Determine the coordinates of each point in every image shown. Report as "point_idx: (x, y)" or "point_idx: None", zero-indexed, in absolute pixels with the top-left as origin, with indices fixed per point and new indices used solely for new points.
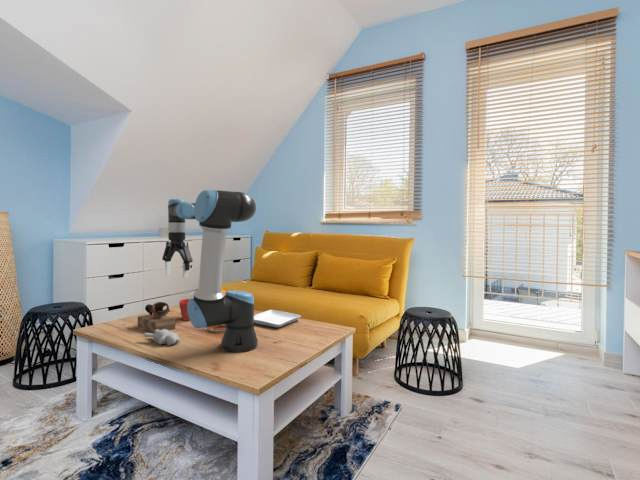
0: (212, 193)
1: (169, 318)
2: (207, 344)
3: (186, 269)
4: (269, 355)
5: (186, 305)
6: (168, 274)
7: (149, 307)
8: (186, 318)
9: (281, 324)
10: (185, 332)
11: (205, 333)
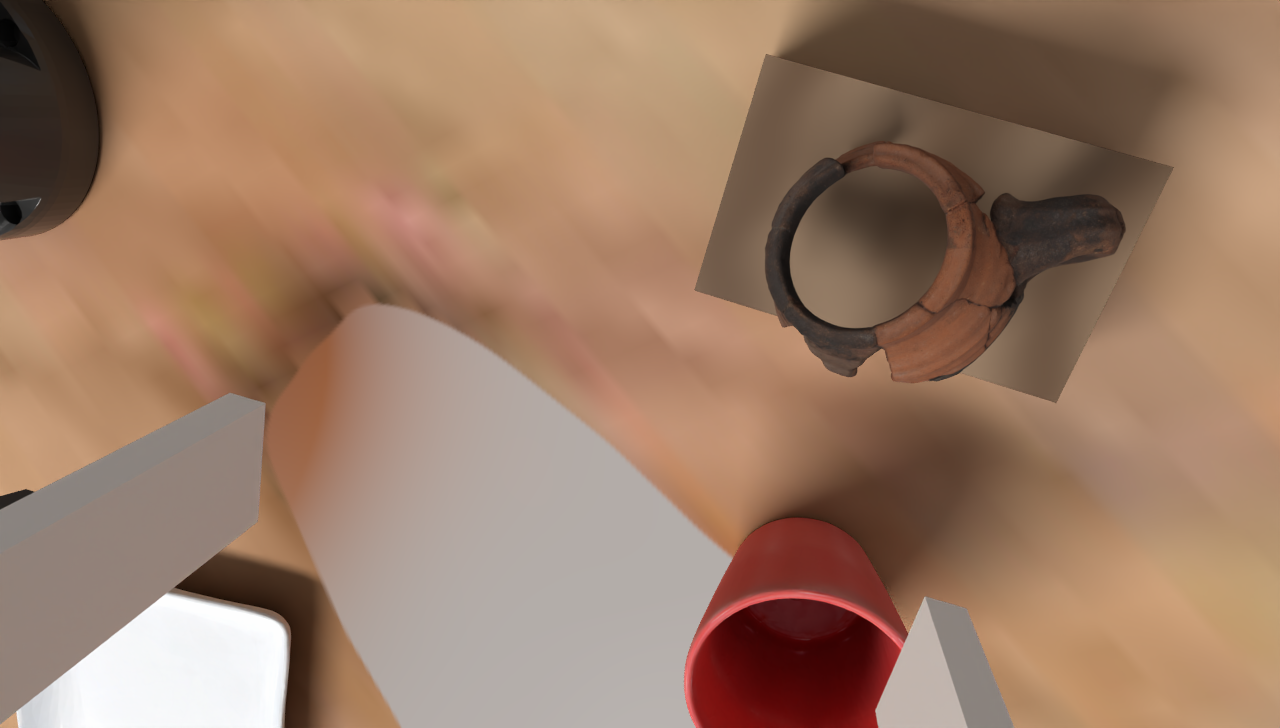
0: None
1: (748, 259)
2: (178, 24)
3: (6, 503)
4: None
5: (764, 578)
6: (907, 649)
7: (1027, 203)
8: (785, 524)
9: None
10: (545, 212)
11: (384, 258)
